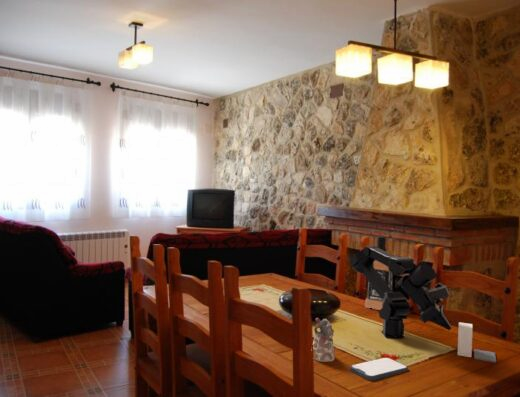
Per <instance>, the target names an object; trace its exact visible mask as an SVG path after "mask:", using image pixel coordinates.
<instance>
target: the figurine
mask: <svg viewBox="0 0 520 397" xmlns="http://www.w3.org/2000/svg"><path fill="white" fill-rule="evenodd" d="M315 321H316V325H315V326H314V330H313V331H314V335H315V336H314V338H313V342H312V345H313V349H314V359H313V360H315V361H318V362H321V363H323V362H324V363H326V362H328V363H329V362H333V361H334V360H335V359H336V358H335V348H334V339H333V337H334V333H335V331H334V329H333V327H332V324H331V322H330V321H329V320H328V319H327V318H323V319H322V320H321V319H320V318H319V317H316V318H315ZM318 329H319V330H320V331H318Z"/></svg>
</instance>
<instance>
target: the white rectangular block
mask: <svg viewBox="0 0 520 397" xmlns="http://www.w3.org/2000/svg"><path fill="white" fill-rule="evenodd" d="M457 333H458V334H457V356H462V357H466V358H467V357H468V358H472V352H473V351H472V350H473V323H469V322H468V323H466V322H458V332H457Z"/></svg>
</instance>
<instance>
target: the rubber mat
mask: <svg viewBox="0 0 520 397" xmlns="http://www.w3.org/2000/svg"><path fill="white" fill-rule="evenodd" d="M473 353H474V354H473V356H474V358H473V359H474V360H479V361H485V362H489V363H497V358H496V352H495V351H494V352H493V351H488V350H481V349H475V348H474V349H473Z"/></svg>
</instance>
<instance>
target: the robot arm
mask: <svg viewBox="0 0 520 397" xmlns="http://www.w3.org/2000/svg"><path fill="white" fill-rule="evenodd" d="M375 260H376V261H378V262H380V263H382V264H384V265H386V266H387V267H388V269H389V271H391V272H392V273H393V276H394V275H395V276H403V277H398V278H397V279H395V280H394V284H395V285H394V286H395V289H398V288H399V287H400V288H401V289H402V290H403V291H404V292H405V294H406V295H407V296H408V297H409V298H410V299H411V300H410V301H411V302H412V303H414V304H416V306H417V307H418V308H419V311H420V315H419V316H420V317H419V320H421V322H422V323H423V324H426V323H427V322H431V323H433V324H436V325H437V326H440V327H442V328H443V329H446V330H448V331H450V330H451V329H452V326H451V324H450V323H449V321H448V319H447V317H446V315H445V314H444V312H443V309H444V308H443V307H444V306H443V304H441V305H438V304H439V303H442V302H443V300H444V299H447V298H449V297H450V295H451V293H450V292H449V289H448V287H447V285H445V284H442V283H441V282H438V283H436V284H435V287H434V288H432V289H430V288H428V287H426V285H428V283H430V282H432V281H433V280H434V279H436V276H437V274H436V271H435V269H434V268H433V267H432V266H431V265H429V264H428V263H427V261H419V262H418V263H417V264H416V263H415V262H414V260H413V259H412V258H409V257H406V256H405V257H404V256H402V257H401V256H396V255H394V254H392V253H390V252H388V251H387V250H386V251H383V250H381V249H379V248H378V247H377V245H366V246H365V247H364V248H363V249H360V250H359V251H357V252H355V253H354V254H352V255H351V257H350V258H349V264H350V266H351V267H352V269H353V270H355V272H357V273H360V275H361V274H362V275H363V276H364V277H365V279H366V280H367V282H368V281H369V283H370V284H371V285H372V287H373V288H374V289H375V291H376V292H377V293H378V295H379V296H380V297H381V299H382V309H381V310H378V316H379V318H381V319H382V330H381V333H382V335H383V336H384V337H385V338H387V339H388V338H389V339H405V336H404V335H405V323H404V320H408V316H409V313H410V310H411V308H410V304H409V301H408V298H406V297H405V296H404V293H402V292H401V291H396V292H394V291H393V289H392V290H391V288H390V287H389V286H388V285H387V283H386V282H385V281H384V280H383V278H382V277H381V276H380V275H379V273H378V272H377V271H376V270H375V268H374V261H375ZM443 298H444V299H443Z"/></svg>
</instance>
